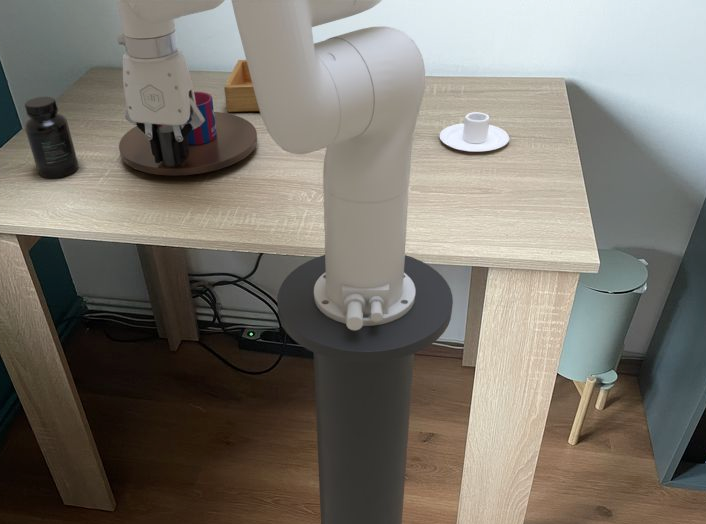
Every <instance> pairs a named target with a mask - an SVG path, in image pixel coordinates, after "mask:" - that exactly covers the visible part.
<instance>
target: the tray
mask: <svg viewBox="0 0 706 524" xmlns="http://www.w3.org/2000/svg"><path fill="white" fill-rule="evenodd" d="M223 88H224V89H223V90H224V96H225V104H226V110H227V113H228V112H231V113H232V112H260V110H259V107H258V103H257V99H256V96H255V92H254V88H253V84H252V80H251V76H250V72H249V68H248V65H247V61H246V59H238V60H237V62H236V63H235V65H234V68H233V70H232V71H231V72H230V75H229V77H228V79H227V81H226V82H225V85H224V86H223Z"/></svg>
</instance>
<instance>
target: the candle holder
mask: <svg viewBox="0 0 706 524" xmlns="http://www.w3.org/2000/svg"><path fill="white" fill-rule="evenodd" d="M439 139H440V141H441V142H442V143H443V144H444V145H446V146H448V147H450V148H453V149H455V150H459V151H464V152H471V153H472V152H473V153H475V152H476V153H477V152H480V153H481V152H489V151H490V152H491V151H494V150H495V151H496V150H498V149H500V148H503V147H504V146H506V145H507V144H508V143H509V141H510V135H509V134H508V133H507V131H505V130H504V129H503V128H501V127H498V126H496V125H492V124H490V115H489V114H487V113H484V112H478V111H473V112H469V113H467V114H466V115H465V116H464V122H462V123H456V124H455V123H454V124H452V125H448V126H447V127H445V128H443V129H442V130H441V131H440V132H439Z"/></svg>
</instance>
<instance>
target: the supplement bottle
mask: <svg viewBox="0 0 706 524" xmlns="http://www.w3.org/2000/svg"><path fill="white" fill-rule="evenodd" d="M24 108H25V111H26V116H27V117H28V118H27V119H26V121H25V123H24V130H25V134H26V138H27V140H28V143H29V146H30V150H31V153H32V156H33V160H34V163H35V166H36V170H37V173H38V174H39V175H40V176H42V177H43V178H47V179H60V178H64V177H67V176H70V175H72V174H74V173H75V172H77V170H78V168H79V162H78V157H77V153H76V150H75V146H74V141H73V138H72V135H71V130H70V127H69V123H68V119H67V117H65V115H64V114H62V113H60V112H59V107H58V105H57V101H56V99H55V98H54V97H52V96H46V95H45V96H37V97H32V98H30V99H28V100H26V102H25V103H24Z"/></svg>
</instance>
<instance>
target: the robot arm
mask: <svg viewBox="0 0 706 524" xmlns="http://www.w3.org/2000/svg"><path fill="white" fill-rule="evenodd" d="M116 1H117V7H118V12H119V17H120V21H121V22H120V23H121V27H122V34H118V35H117V38H116V39H117V43H118V45H121V46H124V47H125V52H126V53H124V54H123V55H122V81H123V82H122V83H123V90H124V92H123V93H124V99H125V106H126V112H125V117H124V118H125V120H126V121H127V122H129V123H131V124H133V125H134V126H137V127H138V128H139V129H140V130H141V131H142V132H144V133H145V136H146V138H147V139H149V140H150V144H151V149H152V154H153V156H154V158H155V162H156V163H160V162H161V161H162V157H161V152H160V146H159V141H158V135H157V129H158V128H159V124H163V125H172V127H173V131H174V134H175V139H176V140H175V141H174V142H173V145H174V151H175V157H176V163H177V164H178V165H182V164H183V163H184V161H185V160H186V159H187V158H188V156H189V149H188V143H187V135H188V134H189V133H190V132H191V130H193V129H195V128H197V127H199V126H201V125H202V124H203V123H204V122H205V119H204V117H203V115H202V114H201V112H200V111H199V109H198V108H197V106H196V101H195V95H194V92H195V90H194V86H193V82H192V77H191V73H190V70H189V67H188V64H187V61H186V58H185V55H184V53H183V51H182V50H179V45H178V44H179V43H178V38H177V31H176V26H175V20H176V19H179V18H181V17H187V16H189V15H193V14H199V13H203V12H207V11H211V10H214V9H216V8H218V7H219V6H221V5H222V4H223V3H224V2H225V0H116ZM382 1H383V0H231V4H232V8H233V9H232V10H233V13H234V18H235V21H236V26H237V29H238V33H239V36H240V41H241V44H242V48H243V52H244V57H245V60H246V61H247V65H248V68H249V72H250V76H251V80H252V84H253V88H254V92H255V96H256V99H257V103H258V107H259V110H260V111H259V113H260V116H261V119H262V121H263V124H264V126H265V129H266V131H267V132H268V134H269V136H270V137H271V139H272V140H273V142H274V143H275V144H276V145H277V146H278V147H279V148H280V149H282V150H283V151H285V152H287V153H290V154H294V155H305V154H306V155H307V154H311V153H314V152H318V151H320V150H323V149H325V154H324V159H323V168H322V181H323V182H322V187H323V188H322V189H323V226H324V227H323V228H324V229H323V230H324V255H325V268H326V272H325V273H324V274H323V275H321V276H320V277H319V279H318V280H317V281H316V284H315V286H314V301H315V303H316V306H317V307H318V308H319V310H320V311H321V312H322V313H324V314H325V315H326V316H328V317H329V318H331V319H333V320H335V321H338V322H341V323H344V324H346V325H347V327H348V328H349V329H351V330H359V329H360V328H362V326H375V325H381V324H385V323H389V322H392V321H394V320H396V319H398V318H400V317H402V316H403V315H405V314H406V313H407V312H408V311H409V310H410V309H411V308H412V306H413V304H414V301H415V292H416V289H415V285H414V283H413V281H412V280H411V278H410V277H409V276H408V275H406V274H405V273H404V262H405V255H406V242H407V227H408V226H407V222H408V205H409V187H410V178H411V177H410V175H411V163H412V161H411V160H412V152H413V151H412V150H413V143H414V136H415V131H416V127H417V123H418V119H419V115H420V111H421V107H422V103H423V99H424V93H425V88H426V68H425V62H424V59H423V55H422V52H421V50H420V48H419V46H418V44H417V43H416V42H415V41H414V39H412V37H410V35H408V34H407V33H405V32H404V31H402V30H400V29H398V28H394V27H390V26H369V27H364V28H359V29H356V30H352V31H350V32H346V33H343V34H339V35H335V36H332V37H329V38H326V39H325V40H321V41H318V42H314V36H313V28H314V27H318V26H322V25H326V24H329V23H332V22H336V21H340V20H344V19H346V18H350V17H353V16H356V15H359V14H361V13H364V12H366V11H369V10H371V9H372V8H374V7H376V6H377V5H378V4H380V3H381V2H382ZM190 116H191V118H192V120H191V121H189V122H188V123H187V121H188V120H189V118H190Z"/></svg>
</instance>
